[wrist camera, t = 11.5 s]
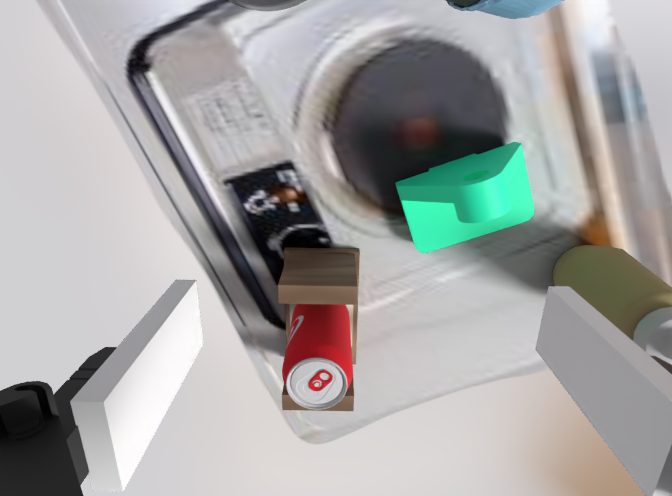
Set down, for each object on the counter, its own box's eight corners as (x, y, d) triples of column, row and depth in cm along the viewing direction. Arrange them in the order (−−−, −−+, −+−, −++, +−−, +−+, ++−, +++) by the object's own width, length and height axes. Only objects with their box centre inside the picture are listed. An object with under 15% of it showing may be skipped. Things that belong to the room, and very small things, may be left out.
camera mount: (414, 246, 46) (433, 288, 36) (393, 180, 43) (408, 206, 34) (525, 211, 44) (576, 245, 35) (510, 140, 42) (561, 155, 32)
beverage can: (281, 317, 47) (264, 388, 36) (317, 278, 46) (311, 340, 34) (325, 348, 49) (321, 426, 37) (361, 312, 47) (368, 382, 36)
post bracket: (284, 247, 46) (272, 283, 37) (359, 248, 46) (363, 284, 37) (288, 357, 51) (277, 411, 42) (355, 359, 51) (358, 412, 42)
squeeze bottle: (549, 312, 48) (662, 431, 31) (534, 249, 46) (647, 343, 29) (622, 288, 47) (780, 399, 30) (610, 223, 44) (776, 304, 28)
